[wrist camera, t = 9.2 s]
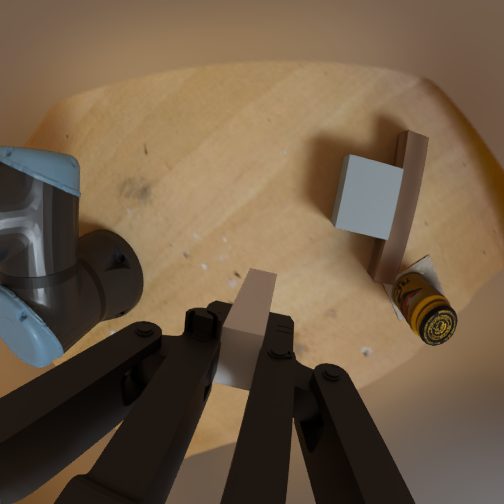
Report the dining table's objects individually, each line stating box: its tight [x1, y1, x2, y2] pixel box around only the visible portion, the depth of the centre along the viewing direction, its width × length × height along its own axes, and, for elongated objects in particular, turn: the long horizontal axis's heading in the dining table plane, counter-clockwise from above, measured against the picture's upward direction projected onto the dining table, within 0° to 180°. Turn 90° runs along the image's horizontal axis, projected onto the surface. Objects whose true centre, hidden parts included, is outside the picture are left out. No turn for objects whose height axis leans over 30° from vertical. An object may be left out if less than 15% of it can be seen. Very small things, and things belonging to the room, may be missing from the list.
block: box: [331, 154, 404, 240], centre depth 35 cm, size 7×9×5 cm
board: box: [367, 130, 429, 286], centre depth 35 cm, size 3×20×4 cm, turn 169°
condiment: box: [383, 255, 457, 346], centre depth 34 cm, size 7×8×12 cm
